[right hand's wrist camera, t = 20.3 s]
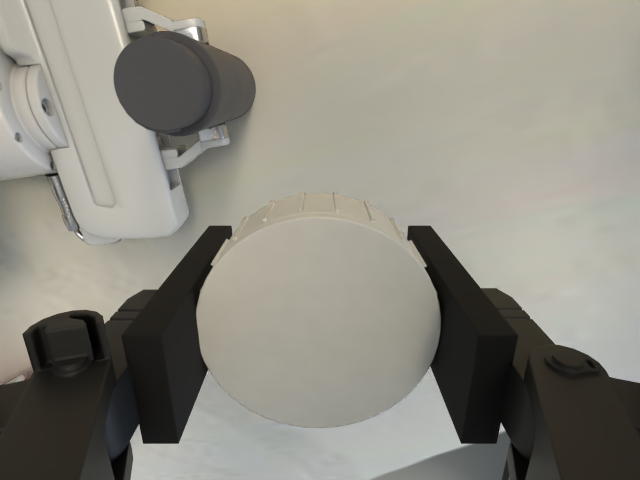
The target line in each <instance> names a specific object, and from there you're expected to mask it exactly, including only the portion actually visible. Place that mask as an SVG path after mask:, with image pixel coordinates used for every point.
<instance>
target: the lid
mask: <svg viewBox="0 0 640 480" xmlns="http://www.w3.org/2000/svg"><path fill="white" fill-rule="evenodd" d="M211 265H212V266H213V268H212V270H211V271H210V273H209V275H208V276H207V278H206V280H205V282H204V285H203V286H202V288H201V290H200V295H199V299H198V303H197V308H196V318H197V327H198V335H199V343H200V350H201V354H202V357H203V360H204V362H205V364H206V366H207V367H208V369H209V371H210V373H211V374H212V376H213V377H214V378H215V380H216V381H217V382H218V384H219V385H220V386H221V387H222V388H223V389H224V390H225V391H226V392H227V393H228V394H229V395H230V396H231V397H232V398H233V399H235V400H236V401H237V402H238V403H240V404H241V405H243V406H244V407H246V408H248V409H249V410H251V411H253V412H255V413H257V414H259V415H261V416H263V417H265V418H268V419H271V420H273V421H276V422H279V423H284V424H288V425H292V426H299V427H307V428H328V427H338V426H344V425H350V424H353V423H357V422H361V421H364V420H366V419H369V418H371V417H374V416H376V415H378V414H380V413H382V412H384V411H386V410H388V409H389V408H391V407H392V406H394V405H395V404H397V403H398V402H400V401H401V400H402V399H403V398H404V397H406V396H407V395H408V394H409V393H410V392H411V391H412V390H413V389H414V388H415V387H416V386H417V384H418V383H419V382H420V381H421V379H422V378H423V377H424V375H425V374H426V372H427V371H428V369H429V367H430V365H431V363H432V361H433V359H434V356H435V353H436V350H437V347H438V343H439V338H440V332H441V313H440V306H439V301H438V298H437V296H438V295H437V291H436V290H435V288H434V286H433V284H432V282H431V279H430V277H429V275H428V274H427V272H426V270H425V269H424V267H426V266H427V265H426V264H425V262H424V260H423V259H422V257H421V255H420V254H419V252H418V250H417V249H416V247H415V245H414V244H413V242H412V240H410V241H408V240H407V238H406V237H405V235H404V234H403V232H402V231H401V230H400V229H399V227H398V225H397V223H396V222H395V220H394V219H393V218H391V219H389V218H388V217H387V216H385V215H384V214H383V213H381V212H380V211H378V210H377V209H375V208H373V207H372V206H370V205H369V202H367V201H365V202H364V203H363V202H361V201H359V200H356V199H353V198H349V197H346V196H341V195H338V193H337V192H334V194H326V193H311V194H305V192H301V195H296V196H291V197H287V198H284V199H281V200H278V201H276V202H274V200H272V201H270V202H269V205H267V206H265V207H263V208H262V209H260V210H259V211H257V212H256V213H254V214H253V215H251V216H250V217H249V218H248V217H247V216H246V217H245V218H244V219H243V221H242V222H241V224H240V226H239V227H238V229H237V230H236V231H235V233H234V234H233V235H232V236H231V238H230V240H228V239H226V240H225V242H224V244H223V245H222V247H221V248H220V250H219V252H218V253H217V255H216V256H215V258H214V260H213V261H212V263H211Z"/></svg>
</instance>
